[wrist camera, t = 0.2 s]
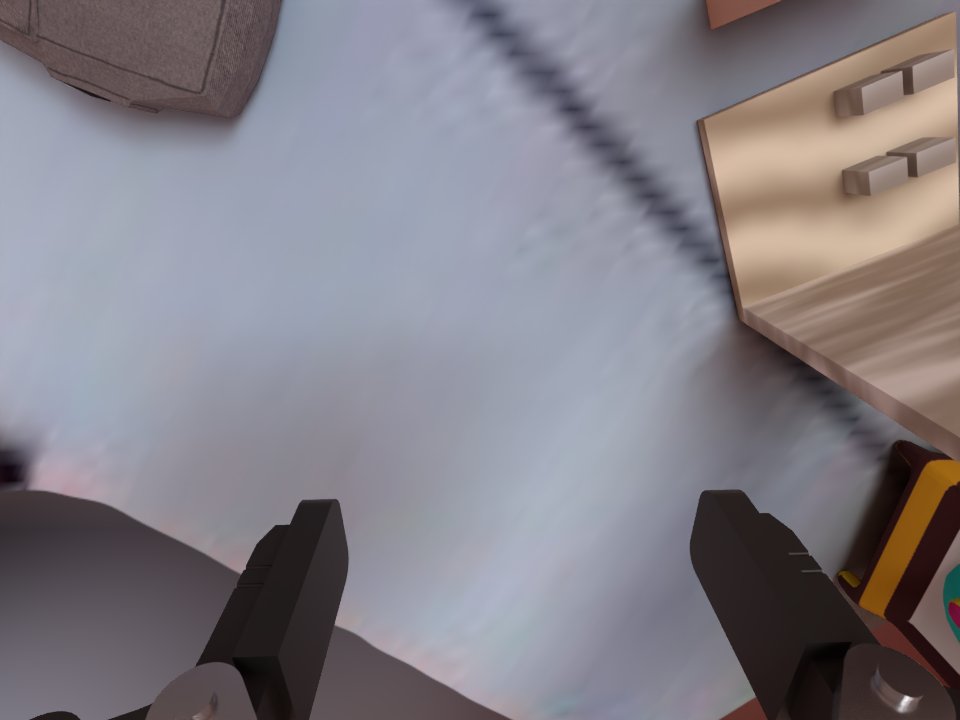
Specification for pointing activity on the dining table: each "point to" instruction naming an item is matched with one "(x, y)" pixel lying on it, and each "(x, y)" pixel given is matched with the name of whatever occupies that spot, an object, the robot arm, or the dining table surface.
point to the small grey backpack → (148, 48)
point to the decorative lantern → (920, 563)
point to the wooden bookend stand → (854, 222)
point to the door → (733, 9)
